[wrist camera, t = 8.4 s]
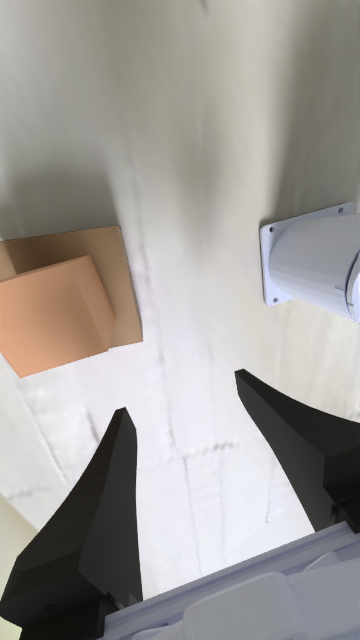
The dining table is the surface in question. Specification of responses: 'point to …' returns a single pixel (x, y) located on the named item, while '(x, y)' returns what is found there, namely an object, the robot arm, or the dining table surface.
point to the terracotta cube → (54, 316)
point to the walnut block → (106, 257)
